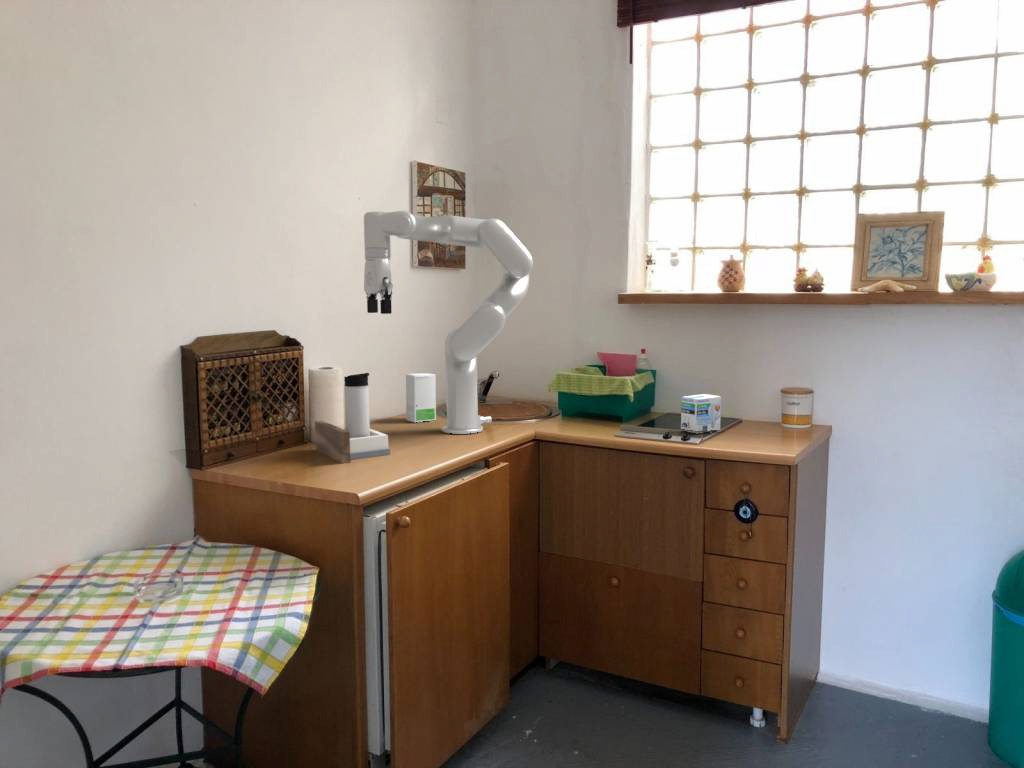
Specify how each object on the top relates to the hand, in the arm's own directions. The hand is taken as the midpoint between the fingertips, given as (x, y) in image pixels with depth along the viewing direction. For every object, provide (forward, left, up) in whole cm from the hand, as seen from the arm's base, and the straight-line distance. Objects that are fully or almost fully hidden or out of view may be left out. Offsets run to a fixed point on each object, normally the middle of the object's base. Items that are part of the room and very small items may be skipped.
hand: (379, 313), depth 236 cm
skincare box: (-20, -14, -36) cm, 44 cm away
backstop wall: (+24, +22, -36) cm, 49 cm away
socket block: (+17, +22, -36) cm, 46 cm away
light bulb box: (-81, +52, -37) cm, 103 cm away
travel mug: (+17, +22, -35) cm, 45 cm away
